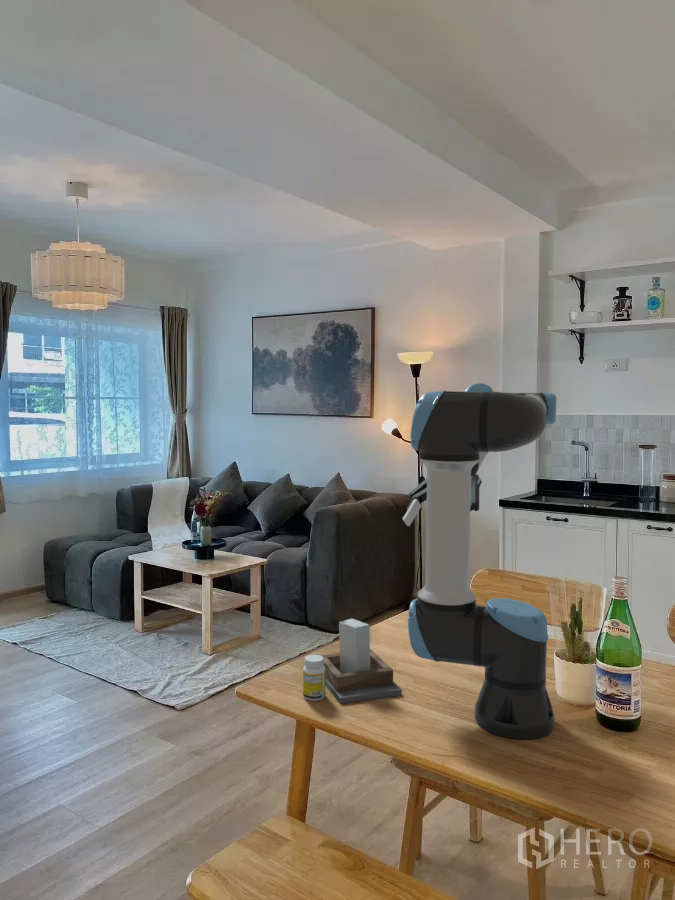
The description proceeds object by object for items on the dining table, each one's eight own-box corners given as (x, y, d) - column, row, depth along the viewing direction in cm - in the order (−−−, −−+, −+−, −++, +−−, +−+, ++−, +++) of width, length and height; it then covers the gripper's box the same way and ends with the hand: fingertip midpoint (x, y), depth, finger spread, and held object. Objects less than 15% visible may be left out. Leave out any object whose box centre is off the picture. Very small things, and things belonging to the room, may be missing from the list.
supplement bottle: (312, 690, 151) (312, 652, 151) (329, 695, 149) (330, 657, 148) (298, 697, 147) (298, 658, 147) (316, 703, 145) (316, 663, 144)
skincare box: (371, 677, 155) (371, 624, 155) (356, 682, 153) (356, 628, 152) (352, 669, 160) (353, 617, 159) (337, 673, 157) (338, 621, 156)
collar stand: (401, 694, 149) (402, 675, 149) (339, 703, 145) (340, 683, 144) (367, 661, 168) (367, 644, 168) (311, 668, 163) (311, 650, 163)
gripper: (514, 474, 170) (477, 544, 161) (433, 466, 188) (395, 528, 178) (503, 454, 166) (464, 523, 156) (421, 447, 184) (381, 510, 174)
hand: (427, 526), depth 167 cm, fingers open, 13 cm apart
